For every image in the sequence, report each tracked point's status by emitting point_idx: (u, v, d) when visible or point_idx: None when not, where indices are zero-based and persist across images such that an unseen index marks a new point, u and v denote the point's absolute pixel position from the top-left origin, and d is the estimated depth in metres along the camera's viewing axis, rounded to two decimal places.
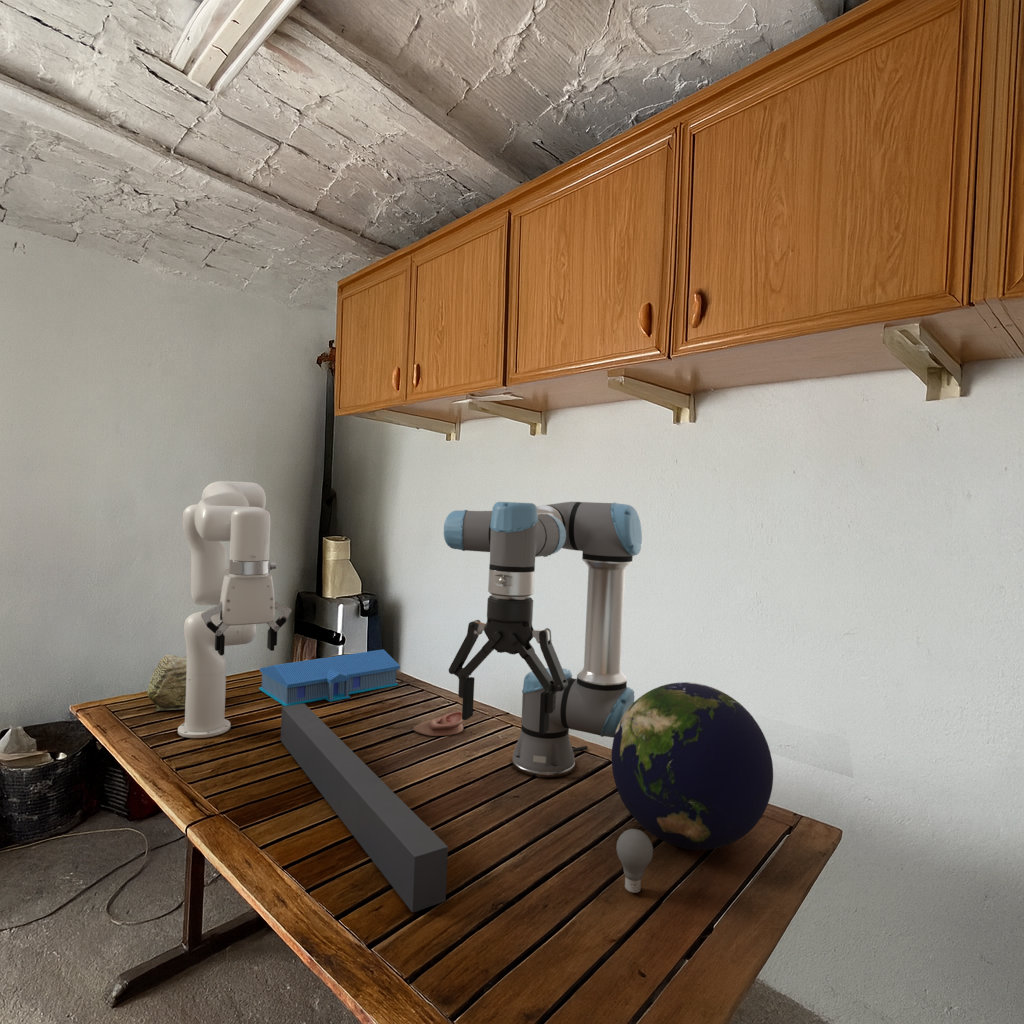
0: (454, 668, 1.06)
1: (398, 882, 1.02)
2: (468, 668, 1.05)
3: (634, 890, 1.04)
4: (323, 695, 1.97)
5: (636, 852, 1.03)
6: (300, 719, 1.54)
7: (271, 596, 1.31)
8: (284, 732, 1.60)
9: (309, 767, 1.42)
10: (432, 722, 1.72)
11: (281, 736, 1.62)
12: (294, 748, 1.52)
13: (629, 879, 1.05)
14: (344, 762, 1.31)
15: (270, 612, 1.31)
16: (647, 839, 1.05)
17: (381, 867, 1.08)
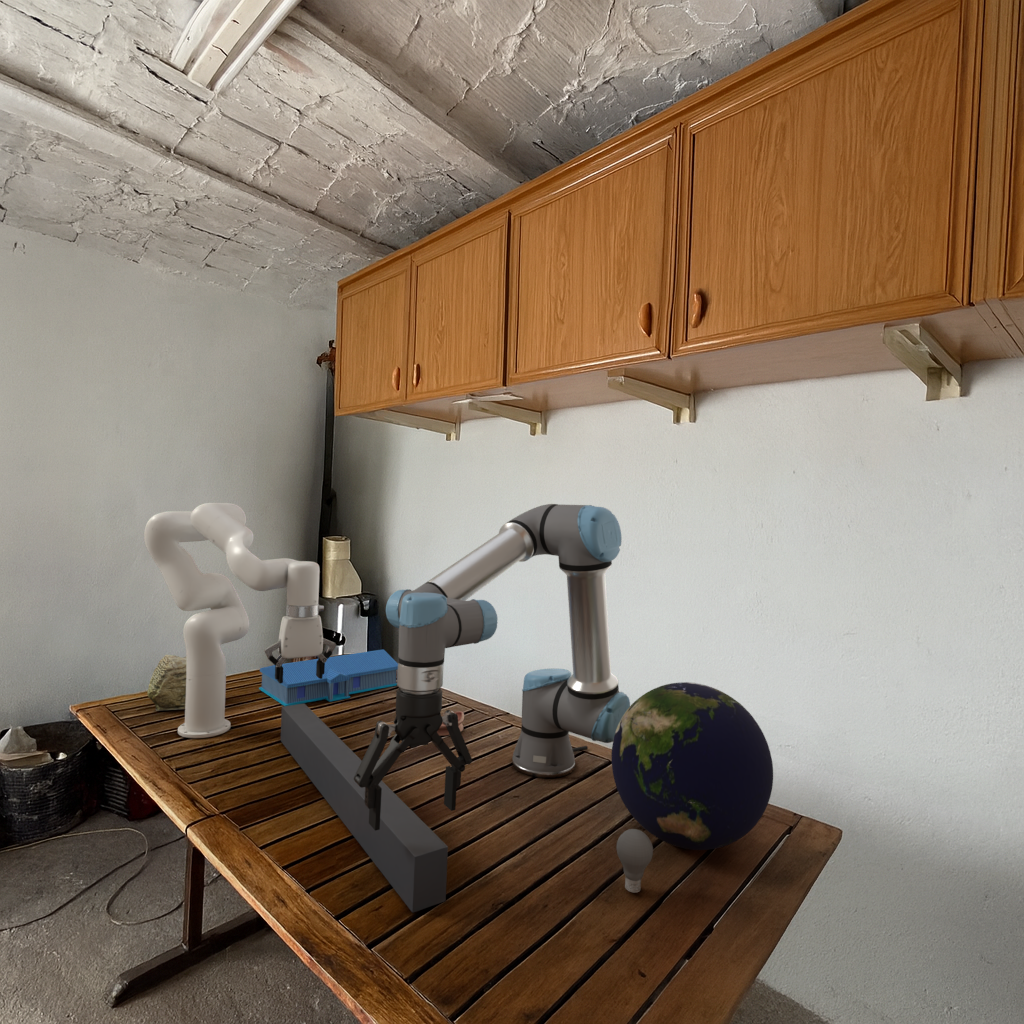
0: (366, 780, 0.98)
1: (398, 882, 1.02)
2: (381, 774, 1.00)
3: (634, 890, 1.04)
4: (323, 695, 1.97)
5: (636, 852, 1.03)
6: (300, 719, 1.54)
7: (320, 634, 1.58)
8: (284, 732, 1.60)
9: (309, 767, 1.42)
10: None
11: (281, 736, 1.62)
12: (294, 748, 1.52)
13: (629, 879, 1.05)
14: (344, 762, 1.31)
15: (319, 647, 1.58)
16: (647, 839, 1.05)
17: (381, 867, 1.08)
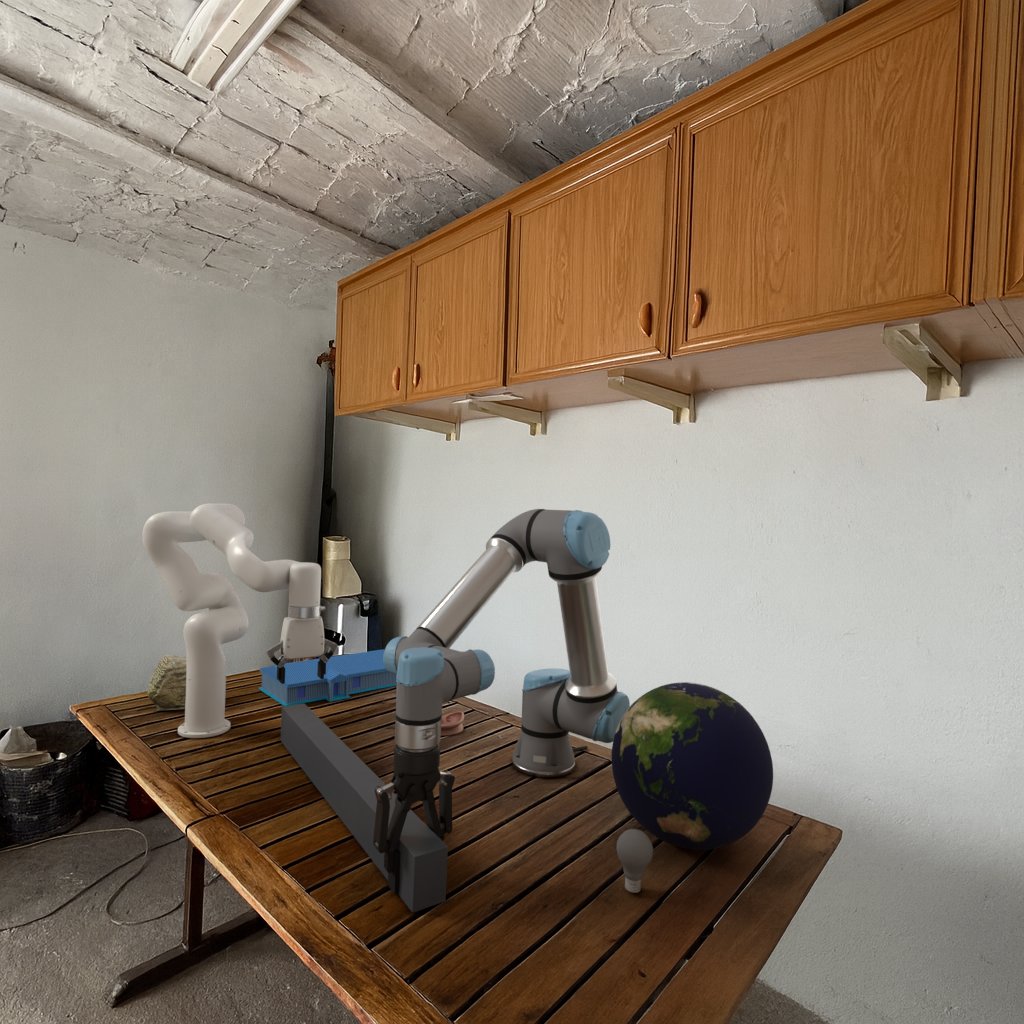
0: (384, 845, 1.00)
1: None
2: (396, 838, 1.01)
3: (634, 890, 1.04)
4: (323, 695, 1.97)
5: (636, 852, 1.03)
6: (300, 719, 1.54)
7: (322, 634, 1.59)
8: (284, 732, 1.60)
9: (309, 767, 1.42)
10: None
11: (281, 736, 1.62)
12: (294, 748, 1.52)
13: (629, 879, 1.05)
14: (344, 762, 1.31)
15: (321, 647, 1.59)
16: (647, 839, 1.05)
17: (381, 867, 1.08)
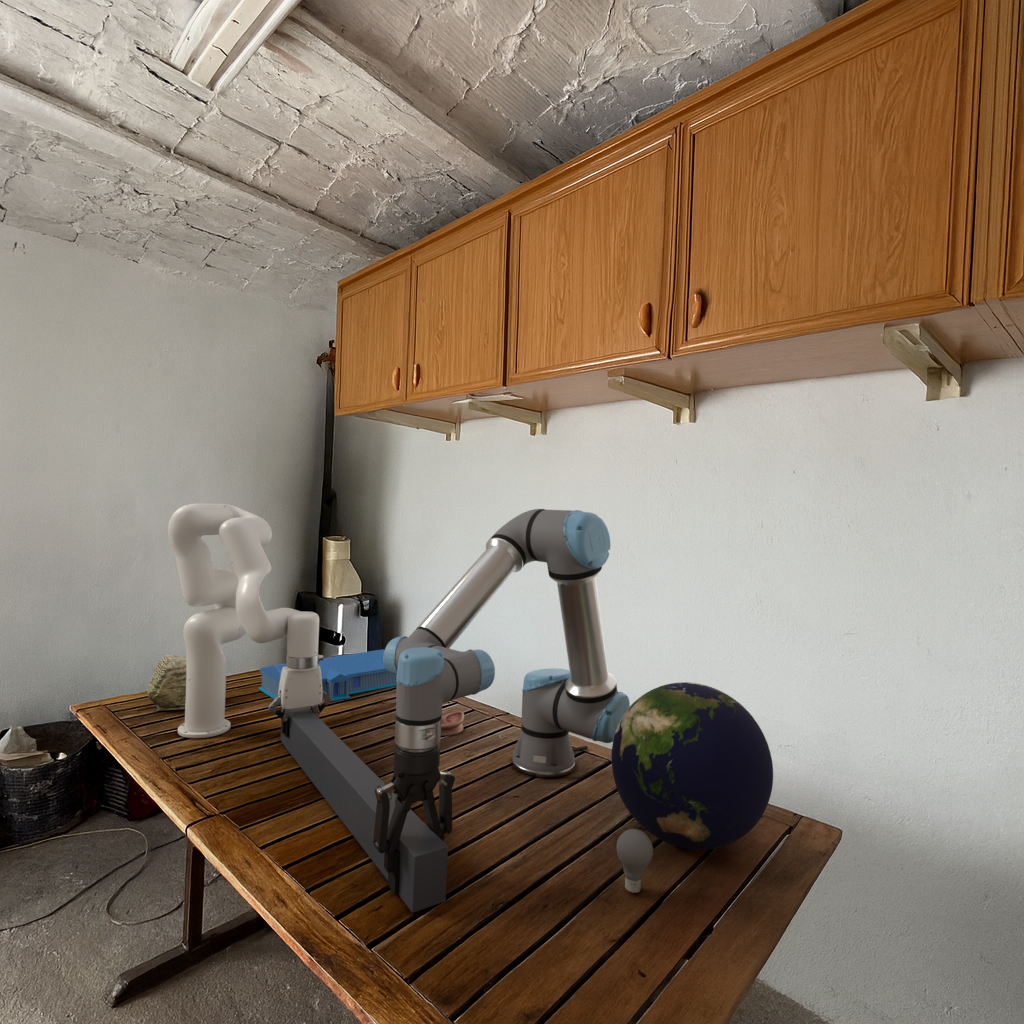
0: (384, 845, 1.00)
1: None
2: (396, 838, 1.01)
3: (634, 890, 1.04)
4: None
5: (636, 852, 1.03)
6: (300, 719, 1.54)
7: (320, 684, 1.59)
8: None
9: (309, 767, 1.42)
10: None
11: (281, 736, 1.62)
12: (294, 748, 1.52)
13: (629, 879, 1.05)
14: (344, 762, 1.31)
15: (319, 697, 1.59)
16: (647, 839, 1.05)
17: (381, 867, 1.08)
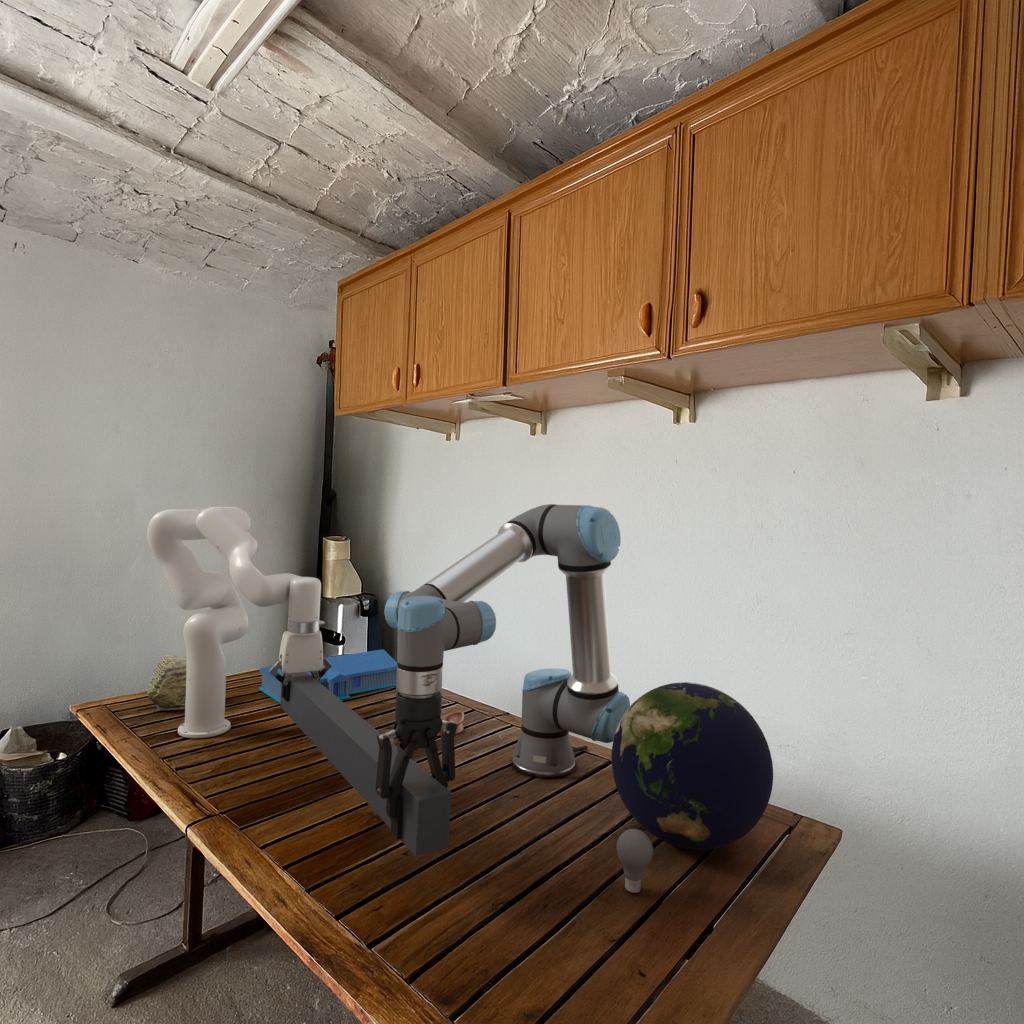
0: (386, 790, 1.00)
1: None
2: (398, 783, 1.02)
3: (634, 890, 1.04)
4: None
5: (636, 852, 1.03)
6: (300, 683, 1.54)
7: (320, 649, 1.59)
8: None
9: (310, 728, 1.42)
10: None
11: (281, 702, 1.62)
12: (294, 712, 1.52)
13: (629, 879, 1.05)
14: (345, 720, 1.31)
15: (319, 662, 1.59)
16: (647, 839, 1.05)
17: (383, 816, 1.08)
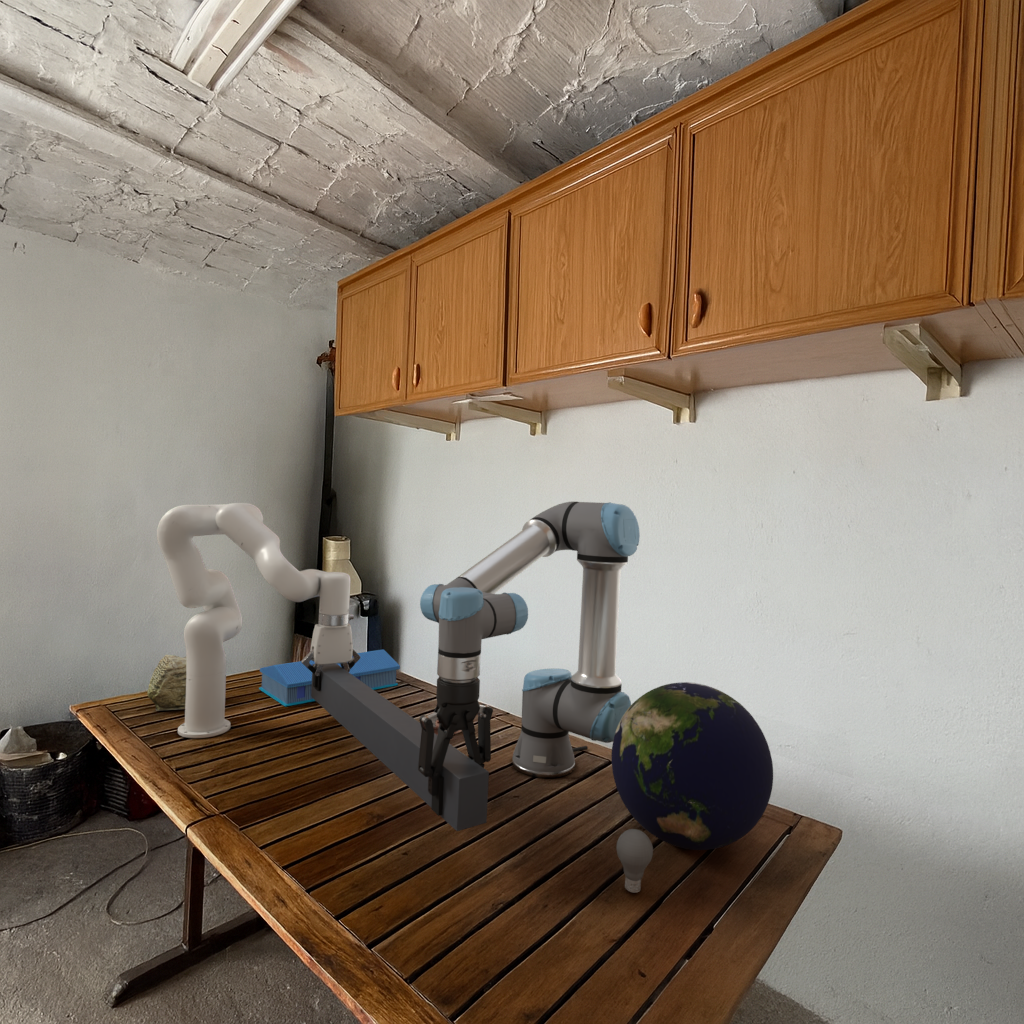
0: (429, 769, 1.07)
1: None
2: (439, 763, 1.08)
3: (634, 890, 1.04)
4: None
5: (636, 852, 1.03)
6: (332, 674, 1.60)
7: (350, 641, 1.66)
8: None
9: (343, 716, 1.49)
10: None
11: (312, 692, 1.69)
12: (326, 701, 1.59)
13: (629, 879, 1.05)
14: (380, 707, 1.37)
15: (349, 654, 1.66)
16: (647, 839, 1.05)
17: (423, 796, 1.15)
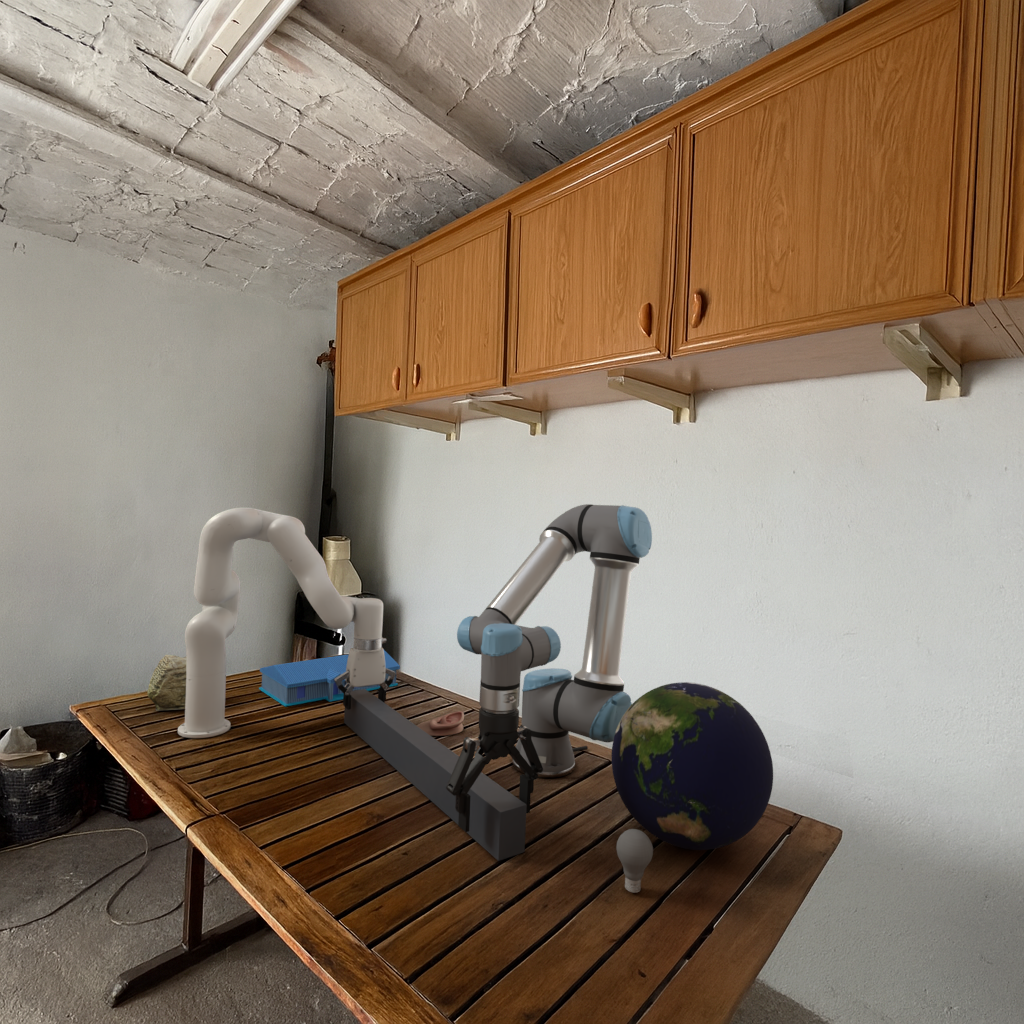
0: (458, 789, 1.13)
1: (482, 836, 1.17)
2: (470, 783, 1.15)
3: (634, 890, 1.04)
4: (323, 695, 1.97)
5: (636, 852, 1.03)
6: (365, 702, 1.69)
7: (383, 664, 1.74)
8: (348, 714, 1.74)
9: (379, 744, 1.57)
10: (432, 722, 1.72)
11: (345, 718, 1.77)
12: (361, 728, 1.67)
13: (629, 879, 1.05)
14: (416, 737, 1.46)
15: (382, 676, 1.74)
16: (647, 839, 1.05)
17: None
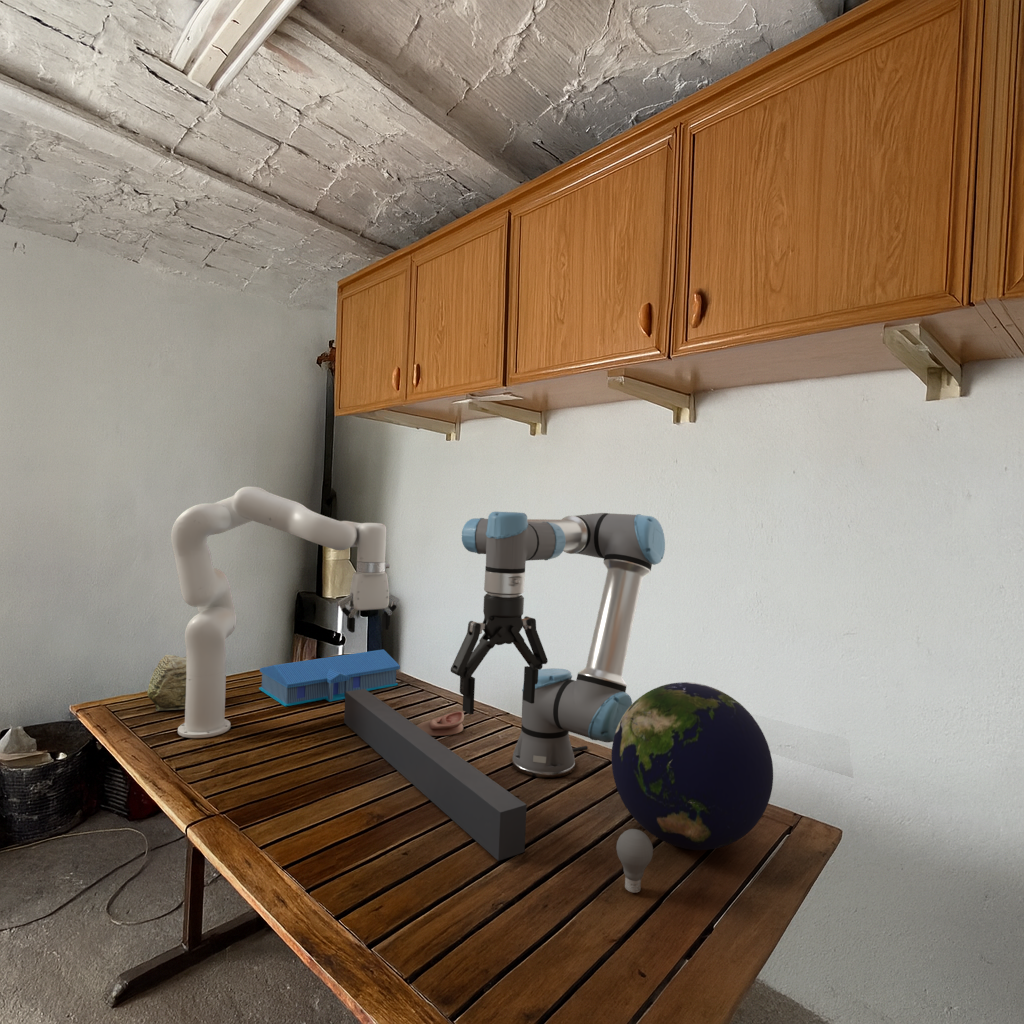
0: (462, 669, 1.13)
1: (482, 836, 1.17)
2: (474, 665, 1.14)
3: (634, 890, 1.04)
4: (323, 695, 1.97)
5: (636, 852, 1.03)
6: (365, 702, 1.69)
7: (387, 588, 1.74)
8: (348, 714, 1.74)
9: (379, 744, 1.57)
10: (432, 722, 1.72)
11: (345, 718, 1.77)
12: (361, 728, 1.67)
13: (629, 879, 1.05)
14: (416, 737, 1.46)
15: (386, 600, 1.74)
16: (647, 839, 1.05)
17: (463, 825, 1.23)
